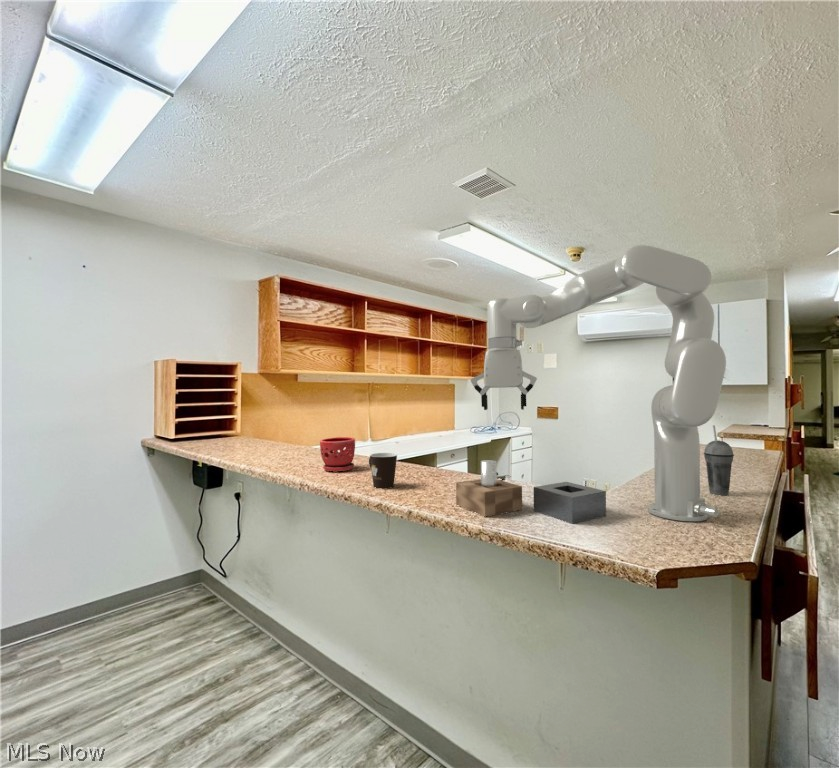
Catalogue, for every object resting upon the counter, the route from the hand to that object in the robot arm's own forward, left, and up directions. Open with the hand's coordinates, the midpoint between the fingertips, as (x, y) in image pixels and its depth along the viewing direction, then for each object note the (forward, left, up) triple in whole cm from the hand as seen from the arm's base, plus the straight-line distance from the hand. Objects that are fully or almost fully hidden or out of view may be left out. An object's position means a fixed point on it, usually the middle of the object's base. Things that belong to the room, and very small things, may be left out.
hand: (503, 409), depth 113 cm
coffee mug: (+37, +18, -26) cm, 49 cm away
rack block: (0, +5, -25) cm, 26 cm away
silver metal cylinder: (0, +5, -25) cm, 26 cm away
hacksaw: (+22, -17, -26) cm, 38 cm away
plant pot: (+69, +23, -26) cm, 77 cm away
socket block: (-14, -8, -25) cm, 30 cm away
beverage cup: (-23, -61, -26) cm, 71 cm away
